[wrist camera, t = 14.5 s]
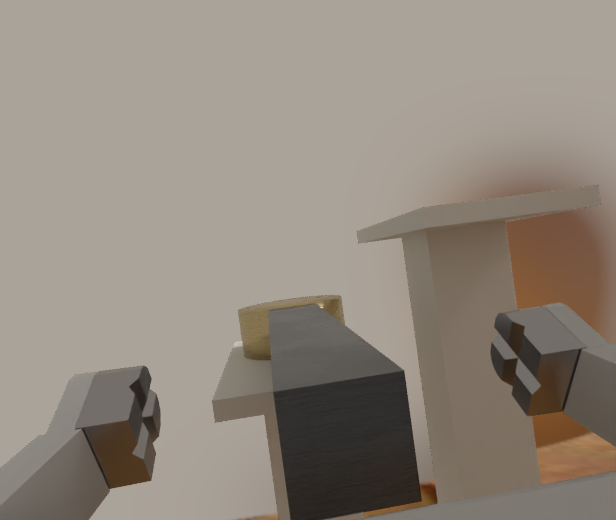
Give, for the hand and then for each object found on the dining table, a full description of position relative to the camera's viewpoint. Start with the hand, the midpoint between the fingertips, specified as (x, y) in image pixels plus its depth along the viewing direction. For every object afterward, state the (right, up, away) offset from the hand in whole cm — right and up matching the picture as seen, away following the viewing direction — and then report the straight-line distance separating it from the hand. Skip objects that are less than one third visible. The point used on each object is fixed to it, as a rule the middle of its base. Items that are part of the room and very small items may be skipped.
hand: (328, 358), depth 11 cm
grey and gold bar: (-1, -3, +12) cm, 12 cm away
